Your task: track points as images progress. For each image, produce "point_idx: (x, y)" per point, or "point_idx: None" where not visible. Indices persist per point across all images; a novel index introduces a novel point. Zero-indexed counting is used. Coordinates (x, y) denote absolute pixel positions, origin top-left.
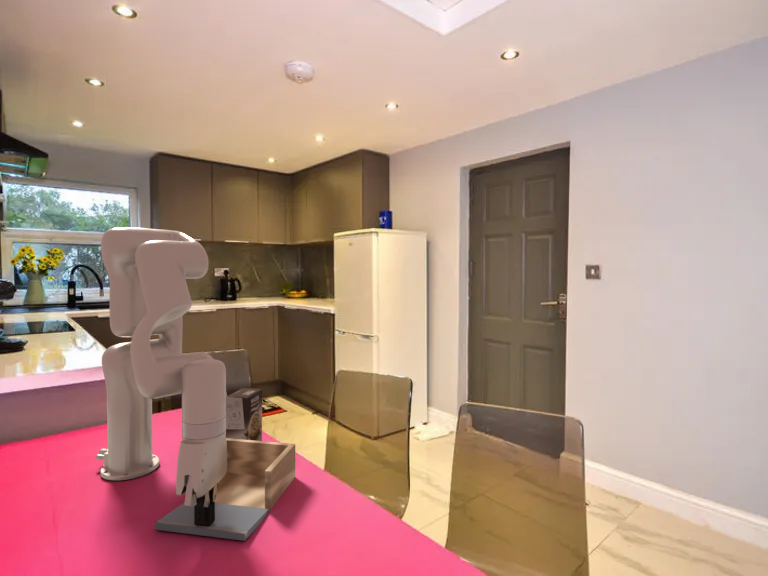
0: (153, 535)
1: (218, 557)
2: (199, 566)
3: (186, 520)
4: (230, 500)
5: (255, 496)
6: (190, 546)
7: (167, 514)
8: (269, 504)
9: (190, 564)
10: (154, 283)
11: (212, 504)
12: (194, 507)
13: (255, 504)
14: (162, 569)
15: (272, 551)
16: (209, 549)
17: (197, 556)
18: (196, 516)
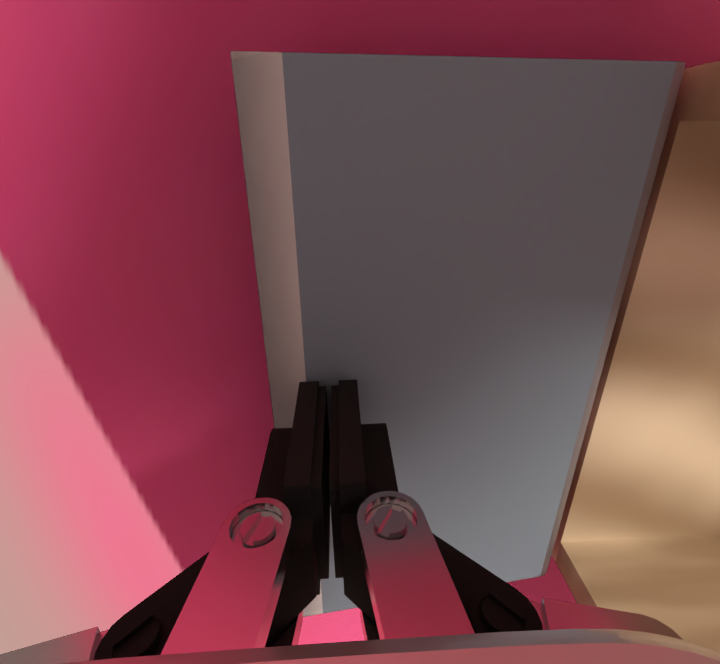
0: (267, 46)
1: (220, 499)
2: (141, 464)
3: (344, 288)
4: (659, 361)
5: (689, 461)
6: (244, 353)
7: (401, 60)
8: (568, 583)
9: (135, 426)
10: None
11: (342, 575)
12: (287, 463)
13: (603, 494)
14: (44, 331)
15: (312, 624)
16: (254, 443)
17: (192, 424)
18: (265, 457)
